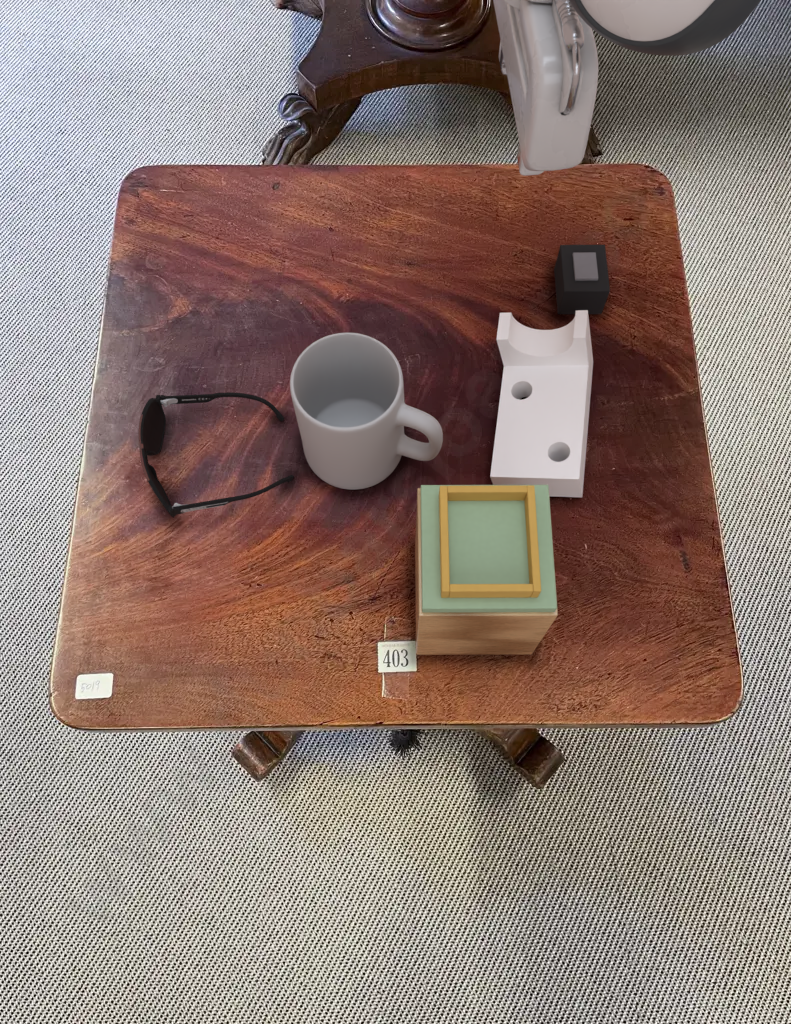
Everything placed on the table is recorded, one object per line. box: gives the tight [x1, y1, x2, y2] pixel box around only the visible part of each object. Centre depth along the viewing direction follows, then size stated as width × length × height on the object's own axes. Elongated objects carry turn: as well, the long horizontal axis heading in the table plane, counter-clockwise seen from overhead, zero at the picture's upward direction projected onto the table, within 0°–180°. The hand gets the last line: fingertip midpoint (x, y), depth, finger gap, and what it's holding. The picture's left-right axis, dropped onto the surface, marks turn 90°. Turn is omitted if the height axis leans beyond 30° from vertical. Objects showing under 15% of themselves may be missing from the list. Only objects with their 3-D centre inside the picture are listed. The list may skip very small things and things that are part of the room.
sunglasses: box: [137, 391, 295, 519], centre depth 71 cm, size 10×12×5 cm
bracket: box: [489, 310, 594, 498], centre depth 71 cm, size 13×7×8 cm, turn 171°
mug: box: [289, 332, 444, 491], centre depth 68 cm, size 12×8×11 cm
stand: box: [414, 487, 559, 656], centre depth 63 cm, size 9×9×12 cm
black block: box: [553, 244, 611, 315], centre depth 77 cm, size 4×5×4 cm
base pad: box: [420, 484, 558, 612], centre depth 56 cm, size 9×9×2 cm
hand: (520, 116), depth 62 cm, fingers open, 8 cm apart
